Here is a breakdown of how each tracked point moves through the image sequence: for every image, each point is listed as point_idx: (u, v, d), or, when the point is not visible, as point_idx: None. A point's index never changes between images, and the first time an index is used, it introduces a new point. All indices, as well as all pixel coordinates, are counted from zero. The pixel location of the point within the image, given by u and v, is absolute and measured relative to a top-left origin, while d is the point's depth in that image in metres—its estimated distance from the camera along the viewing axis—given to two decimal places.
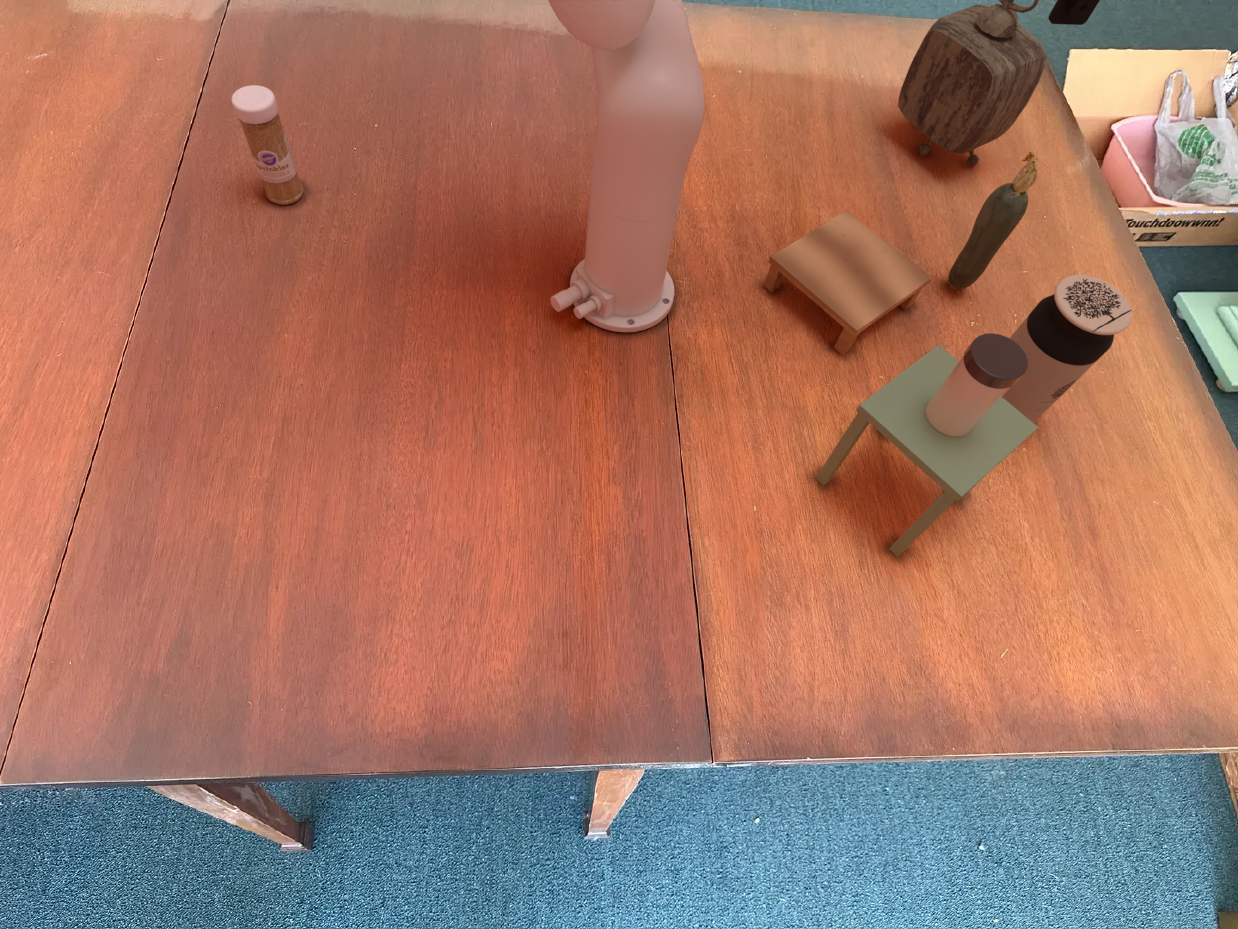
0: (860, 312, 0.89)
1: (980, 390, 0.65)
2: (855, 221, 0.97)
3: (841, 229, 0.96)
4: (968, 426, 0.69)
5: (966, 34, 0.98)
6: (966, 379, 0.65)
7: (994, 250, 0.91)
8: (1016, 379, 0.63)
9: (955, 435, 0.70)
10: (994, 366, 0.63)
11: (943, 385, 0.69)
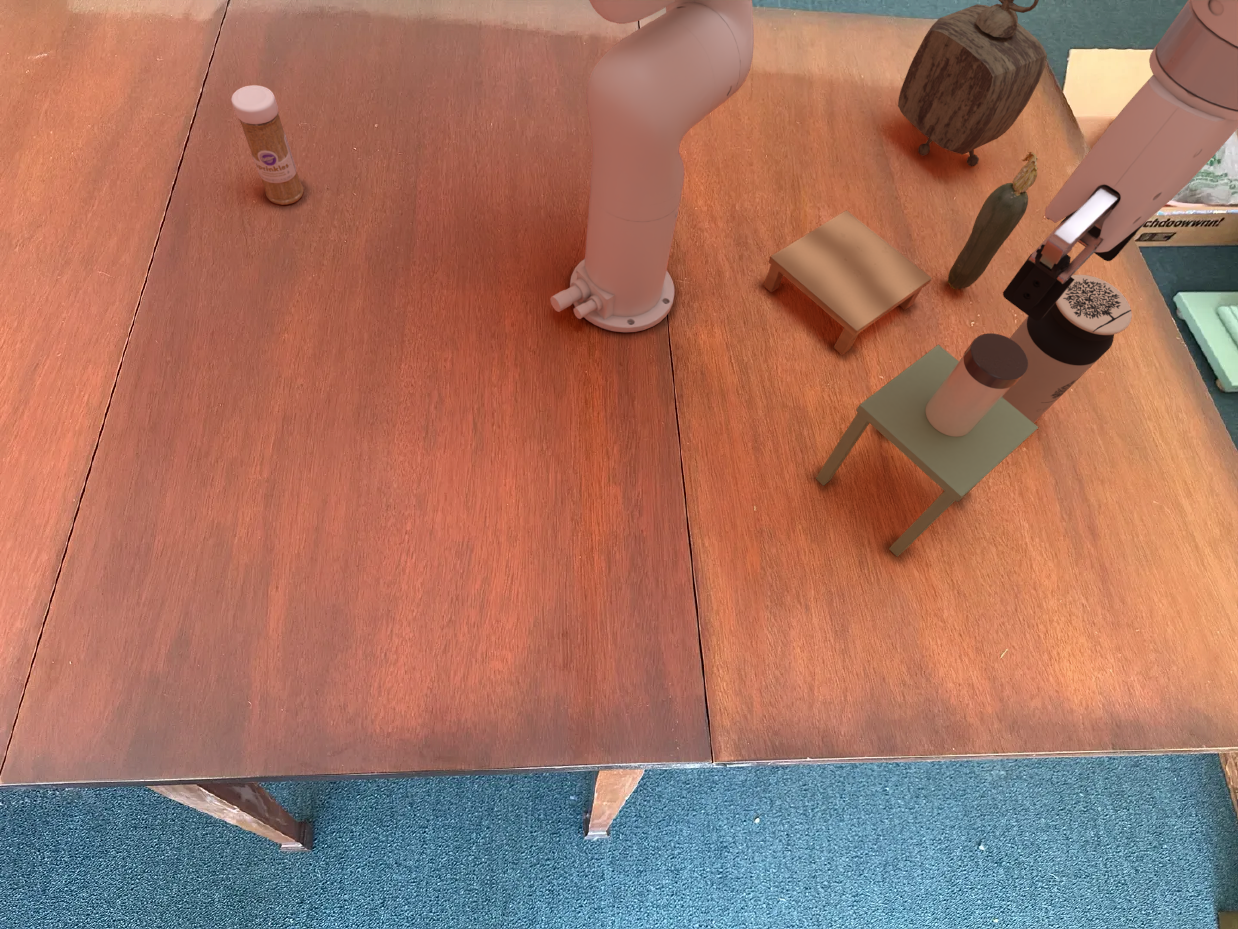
0: (860, 312, 0.89)
1: (980, 390, 0.65)
2: (855, 221, 0.97)
3: (841, 229, 0.96)
4: (968, 426, 0.69)
5: (966, 34, 0.98)
6: (966, 379, 0.65)
7: (994, 250, 0.91)
8: (1016, 379, 0.63)
9: (955, 435, 0.70)
10: (994, 366, 0.63)
11: (943, 385, 0.69)
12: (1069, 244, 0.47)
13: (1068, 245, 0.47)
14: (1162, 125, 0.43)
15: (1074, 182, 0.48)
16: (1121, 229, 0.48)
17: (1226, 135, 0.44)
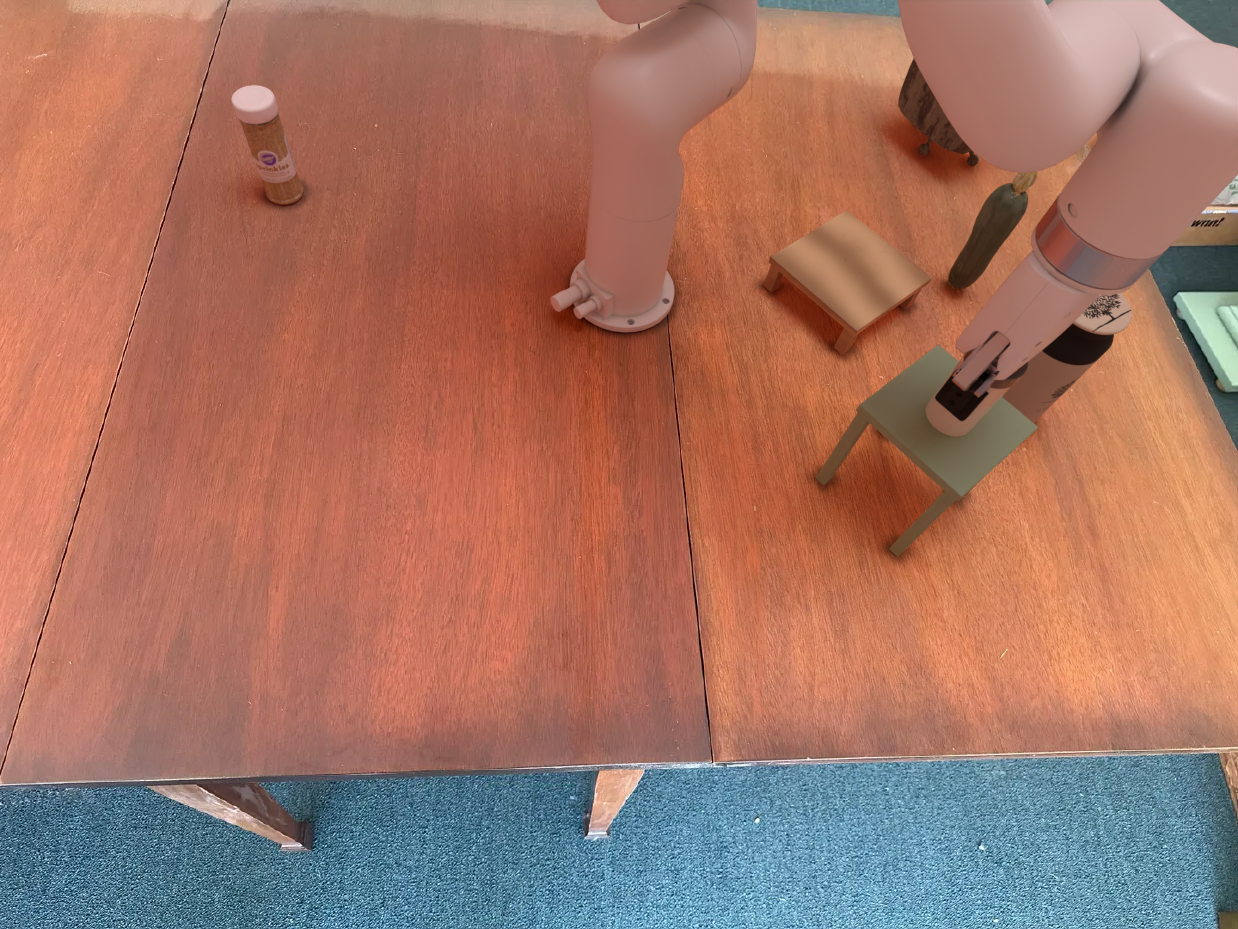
0: (860, 312, 0.89)
1: None
2: (855, 221, 0.97)
3: (841, 229, 0.96)
4: (968, 426, 0.69)
5: None
6: None
7: (994, 250, 0.91)
8: (1016, 379, 0.63)
9: (955, 435, 0.70)
10: None
11: None
12: (966, 386, 0.59)
13: (965, 387, 0.59)
14: (1038, 293, 0.53)
15: (975, 325, 0.58)
16: (1013, 366, 0.58)
17: (1092, 299, 0.54)
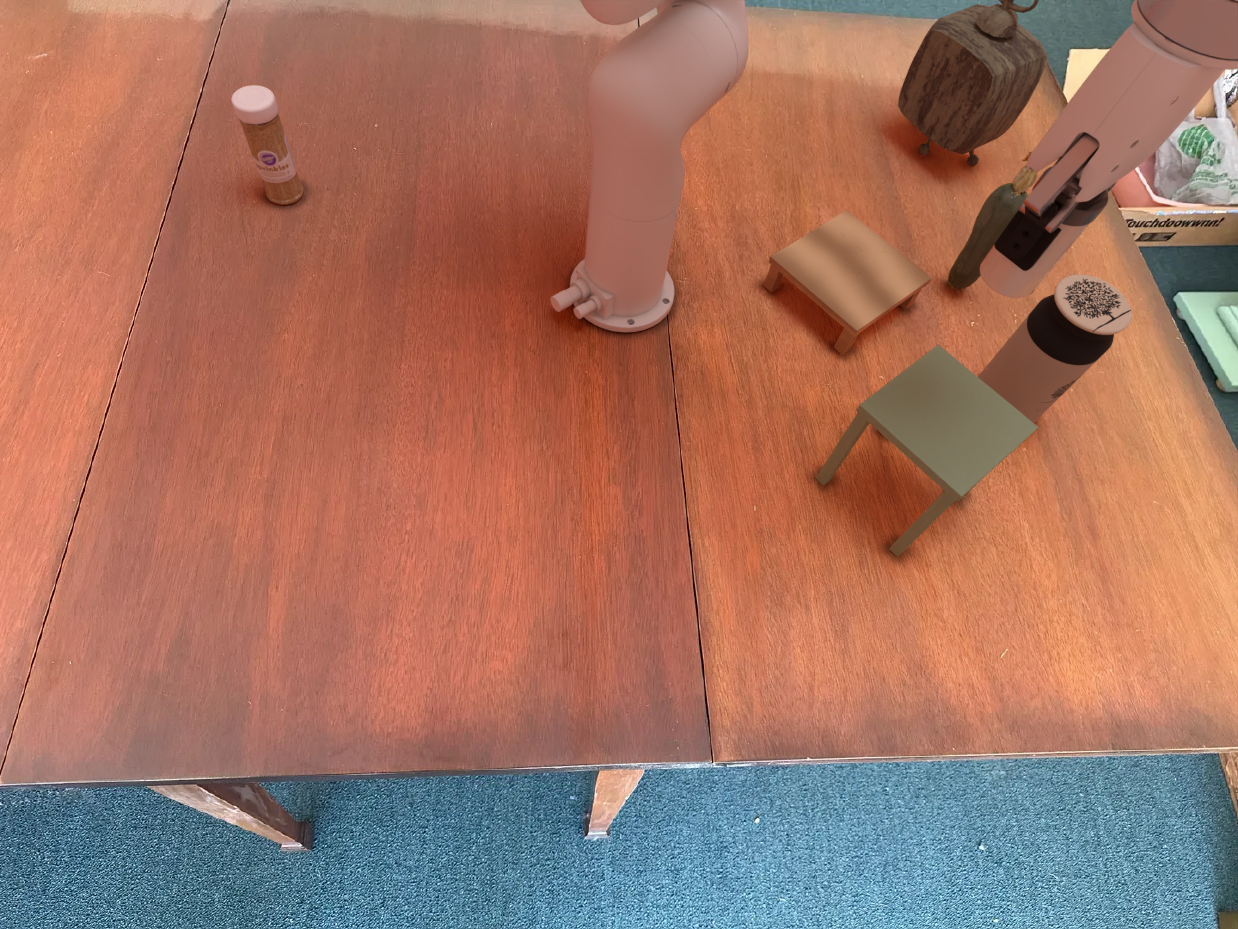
0: (860, 312, 0.89)
1: None
2: (855, 221, 0.97)
3: (841, 229, 0.96)
4: (1030, 283, 0.60)
5: (966, 34, 0.98)
6: None
7: None
8: (1095, 213, 0.54)
9: (1015, 296, 0.61)
10: None
11: None
12: (1042, 206, 0.50)
13: (1041, 207, 0.50)
14: (1140, 71, 0.44)
15: (1055, 130, 0.49)
16: (1100, 177, 0.49)
17: (1203, 84, 0.45)
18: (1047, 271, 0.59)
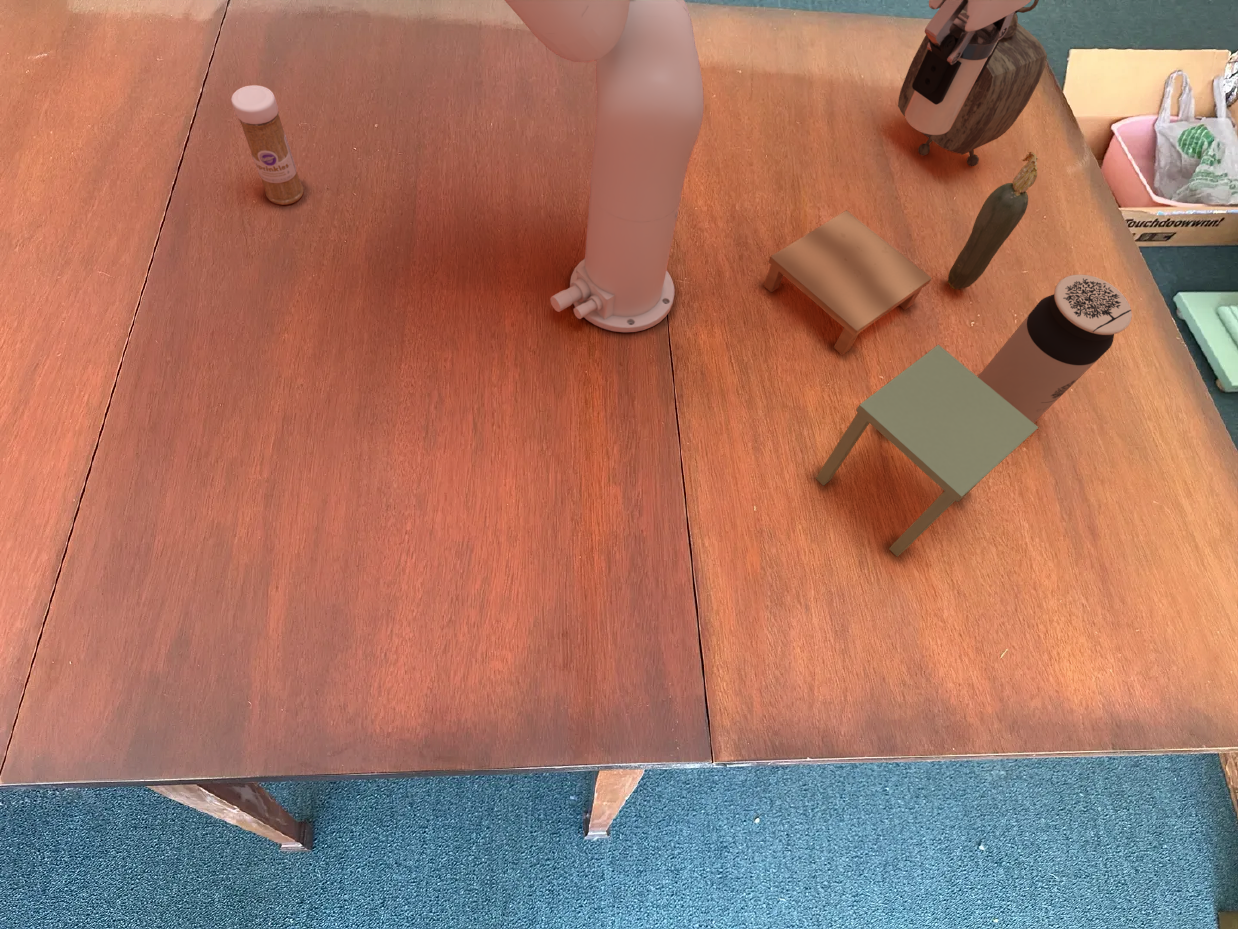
0: (860, 312, 0.89)
1: None
2: (855, 221, 0.97)
3: (841, 229, 0.96)
4: (944, 119, 0.72)
5: None
6: None
7: (994, 250, 0.91)
8: (988, 47, 0.67)
9: (933, 132, 0.74)
10: None
11: None
12: (938, 32, 0.63)
13: (937, 33, 0.63)
14: None
15: None
16: (981, 5, 0.61)
17: None
18: (957, 107, 0.72)
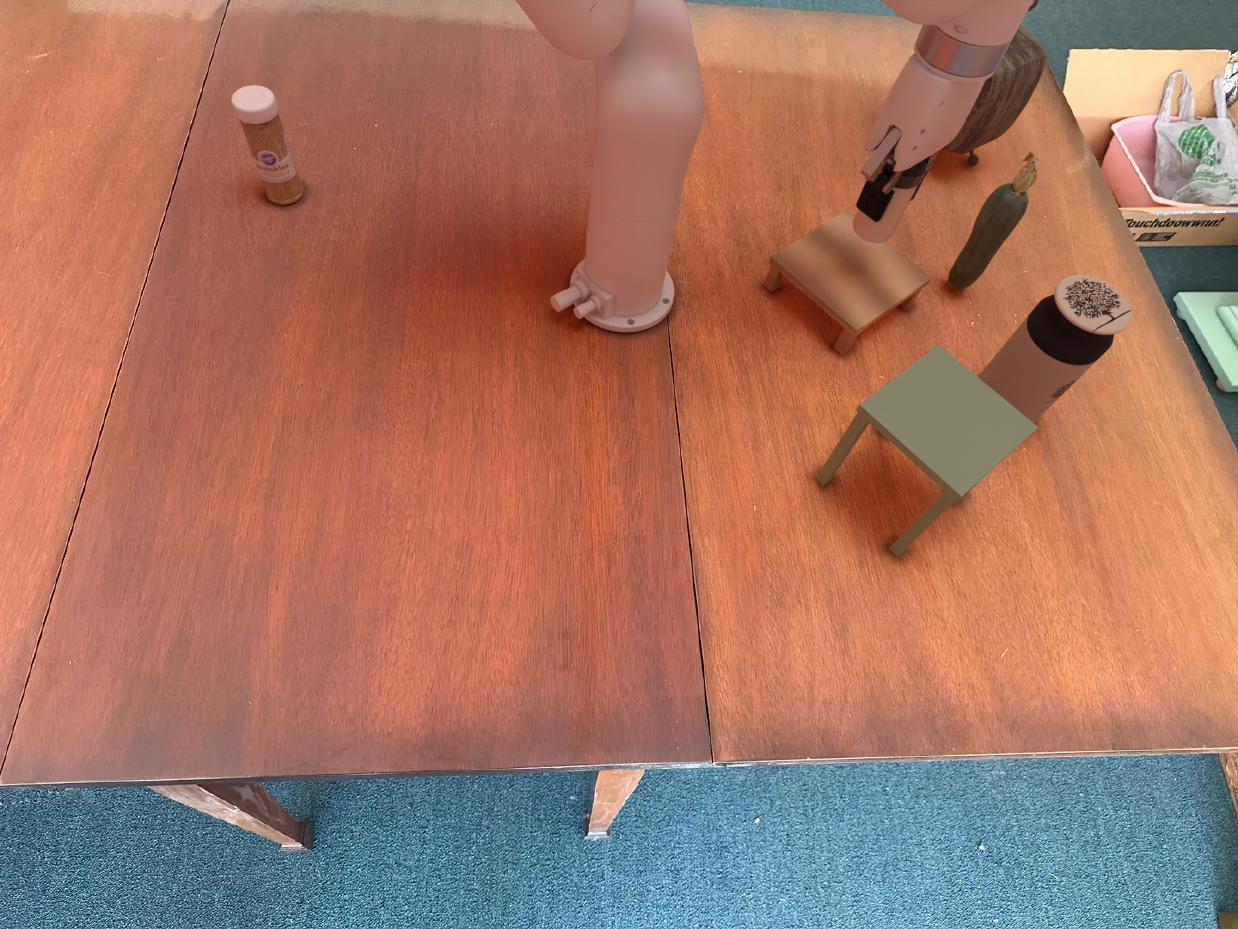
0: (860, 312, 0.89)
1: None
2: None
3: (841, 229, 0.96)
4: (884, 231, 0.85)
5: None
6: None
7: (994, 250, 0.91)
8: (916, 179, 0.79)
9: (875, 241, 0.86)
10: None
11: None
12: (871, 174, 0.75)
13: (870, 175, 0.75)
14: (917, 84, 0.69)
15: (876, 123, 0.74)
16: (905, 154, 0.74)
17: (961, 92, 0.70)
18: (894, 222, 0.84)
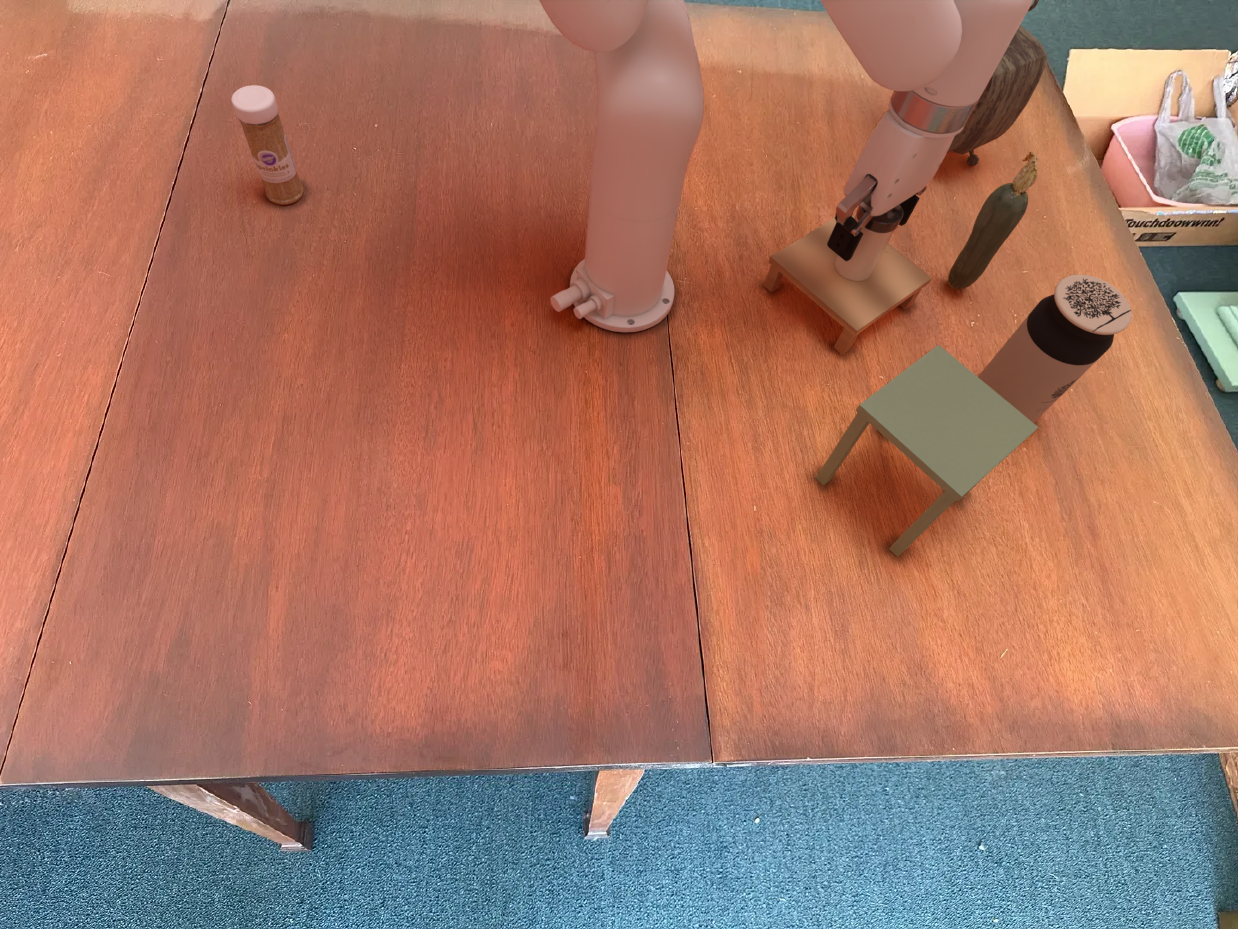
0: (860, 312, 0.89)
1: (868, 235, 0.86)
2: None
3: None
4: (864, 270, 0.90)
5: None
6: None
7: (994, 250, 0.91)
8: (893, 224, 0.84)
9: (856, 279, 0.92)
10: None
11: None
12: (847, 209, 0.78)
13: (847, 210, 0.78)
14: (891, 139, 0.74)
15: (854, 172, 0.79)
16: (881, 201, 0.79)
17: (932, 145, 0.75)
18: (873, 262, 0.90)
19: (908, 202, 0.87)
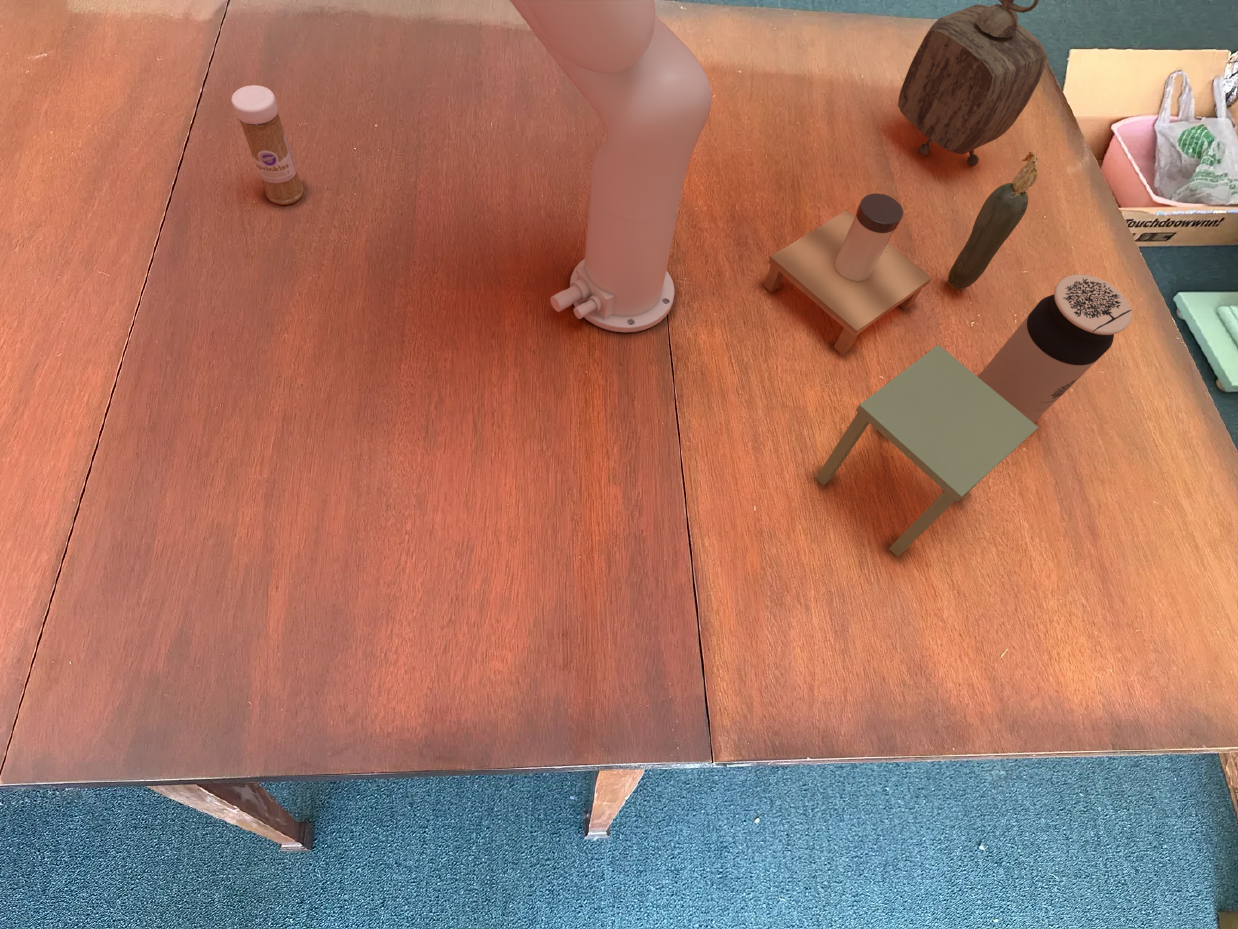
0: (860, 312, 0.89)
1: (868, 235, 0.86)
2: None
3: (841, 229, 0.96)
4: (864, 270, 0.90)
5: (966, 34, 0.98)
6: (858, 227, 0.86)
7: (994, 250, 0.91)
8: (893, 224, 0.84)
9: (856, 279, 0.92)
10: (877, 215, 0.84)
11: (845, 238, 0.90)
12: None
13: None
14: None
15: None
16: None
17: None
18: (873, 262, 0.90)
19: None
